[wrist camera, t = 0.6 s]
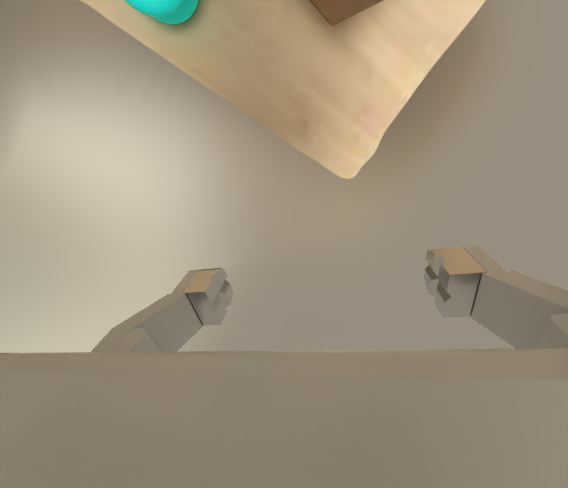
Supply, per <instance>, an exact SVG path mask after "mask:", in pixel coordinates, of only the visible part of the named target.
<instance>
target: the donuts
mask: <svg viewBox="0 0 568 488" xmlns="http://www.w3.org/2000/svg"><path fill="white" fill-rule="evenodd" d="M125 1H126V2H127V3H128V4H129V5H131V6H132V7H133V8H135V9H136V10H138V11H140V12H142V13H144V14H147V15H150V16H151V17H153V18H154V19H156V20H158V21H160V22H163V23H166V24H179V23H182V22H184V21H186V20H187V19H188V18H189V17H190V16H191V15H192V14H193V13H194V11H195V9H196V7H197V4H198V0H125Z"/></svg>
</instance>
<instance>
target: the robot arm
mask: <svg viewBox="0 0 568 488" xmlns="http://www.w3.org/2000/svg"><path fill="white" fill-rule="evenodd" d="M426 260H427V262H428V263H429V265H428V266H427V267H426V268H425V273H424V278H425V284H426V287H427V290H428V291H429V293H430V294H431V295H433V296H435V304H436V306H437V308H438V309H439V311H440V313H441V315H442V316H443V317H455V316H456V317H457V316H458V317H460V316H471V318H472V319H474V320H475V321H477V322H478V323H480V324H481V325H483V326H484V327H485V328H487V329H488V330H490V331H491V332H493V333H494V334H496V335H497V336H499V337H500V338H501V339H503V340H504V341H506V342H507V343H509V344H510V345H511V346H513V347H514V348H516V349H445V350H444V349H439V350H315V351H314V350H313V351H310V350H309V351H308V350H307V351H212V352H211V351H204V352H202V351H201V352H200V351H199V352H177V351H178V350H179V349H180V348H181V347H182V346H183V345H184V344H185V343H186V342H187V341H188V340H189V339H190V338H191V337H192V336H194V335H195V333H197V331H198V330H200V329H201V328H202V326H203V325H204V326H205V325H220V324H221V323H222V321H223V319H224V317H225V314H226V310H225V308H226V307H227V306H229V305H230V303H231V301H232V294H233V292H232V287H231V285H230V283H229V282H227V281H226V280H225V279H226V277H227V275H226V272H225V270H224V269H222V268H214V269H201V270H200V269H199V270H191V271H189V272H188V273H187V274H186V275H185V277H184V278H183V279H182V281H181V282H180V283H179V284H178V286H177V287H176V288H175V290H174V291H173V292H172V293H171V294H169V295H166V296H165V297H163V298H161V299H159V300H158V301H156V302H155V303H153V304H151V305H150V306H148V307H147V308H145V309H143V310H142V311H140V312H138V313H137V314H135V315H133V316H132V317H130V318H128V319H127V320H125V321H124V322H122V323H120V324H119V325H117V326H115V327H114V328H112V329H111V330H110V331H109V333H108V334H107V335H106V336H105V337H104V338H103V339H102V341H100V342H99V343H98V345H97V346H96V347H95V348H94V349H93V350H92V351H91V352H87V353H86V352H82V353H0V488H568V291H567V290H565V289H562V288H559V287H556V286H553V285H551V284H548V283H545V282H542V281H540V280H537V279H534V278H531V277H528V276H526V275H523V274H520V273H517V272H515V271H506V270H505V269H504V268H503V267H502V266H501V265H500V264H499V263H498V262H497V261H495V259H493V258H492V257H491V256H490V255H489V254H488V253H487V252H486V251H485V250H484V249H483V248H481V247H480V246H479V245H476V244H474V245H465V246H458V247H449V248H440V249H430V250H428V251H427V254H426Z"/></svg>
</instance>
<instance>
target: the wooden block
mask: <svg viewBox="0 0 568 488" xmlns="http://www.w3.org/2000/svg"><path fill="white" fill-rule="evenodd" d="M311 1H312V3H313V4H314V5H315V6H316V7H317V8H318V10H319V11H320V12H321V13H322V14H323V16H324V17H325V18H326V19H327V20H328V21H329V23H330V24H332V25H334V24H336V23H338V22H340V21H342V20H344V19H346V18H348V17H350V16H352V15H354V14H356V13H358V12H360V11H363V10H365V9H367V8H369V7H371V6H373V5H375V4H377V3H379V2H381V1H383V0H311Z"/></svg>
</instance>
